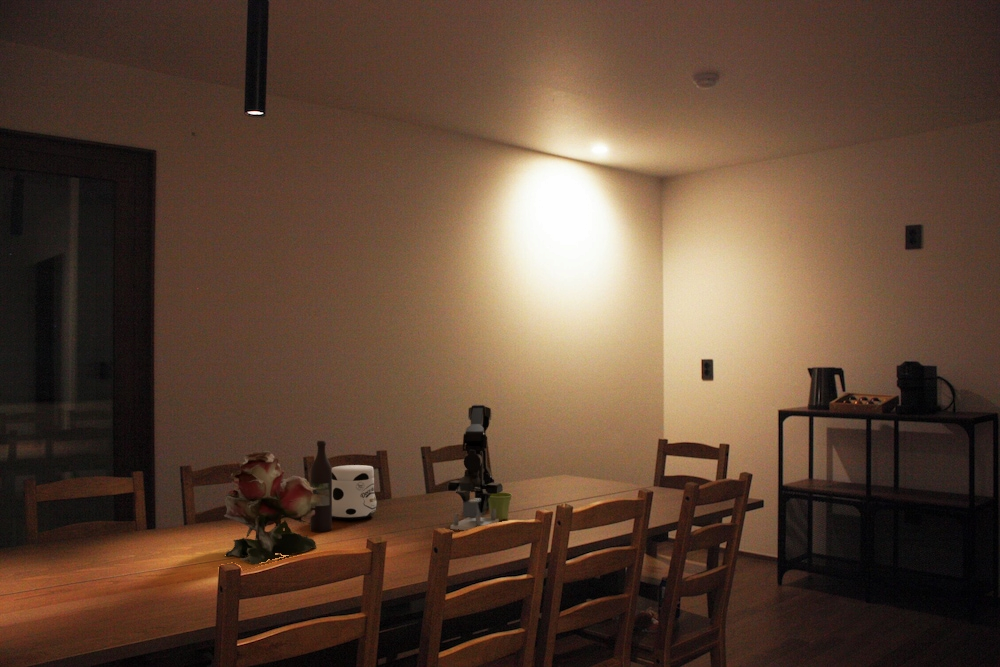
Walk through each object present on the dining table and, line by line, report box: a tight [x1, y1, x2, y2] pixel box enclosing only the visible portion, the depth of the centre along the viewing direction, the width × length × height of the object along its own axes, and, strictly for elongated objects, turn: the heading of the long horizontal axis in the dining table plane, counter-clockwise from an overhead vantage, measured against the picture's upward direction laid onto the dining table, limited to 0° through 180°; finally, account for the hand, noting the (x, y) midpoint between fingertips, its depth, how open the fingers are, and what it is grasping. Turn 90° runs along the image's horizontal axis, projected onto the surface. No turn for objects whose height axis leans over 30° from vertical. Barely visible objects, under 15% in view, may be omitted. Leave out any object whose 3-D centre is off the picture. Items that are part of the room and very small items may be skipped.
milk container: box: [331, 464, 378, 521], centre depth 289 cm, size 17×17×18 cm
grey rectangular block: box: [462, 497, 487, 518], centre depth 274 cm, size 9×5×5 cm, turn 160°
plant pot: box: [488, 491, 513, 521], centre depth 286 cm, size 9×9×9 cm
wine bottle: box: [309, 439, 333, 533], centre depth 268 cm, size 7×7×30 cm
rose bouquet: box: [223, 450, 321, 566], centre depth 241 cm, size 26×29×30 cm
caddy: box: [449, 509, 500, 531], centre depth 274 cm, size 16×11×5 cm
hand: (474, 512), depth 274 cm, fingers closed on grey rectangular block, 5 cm apart
